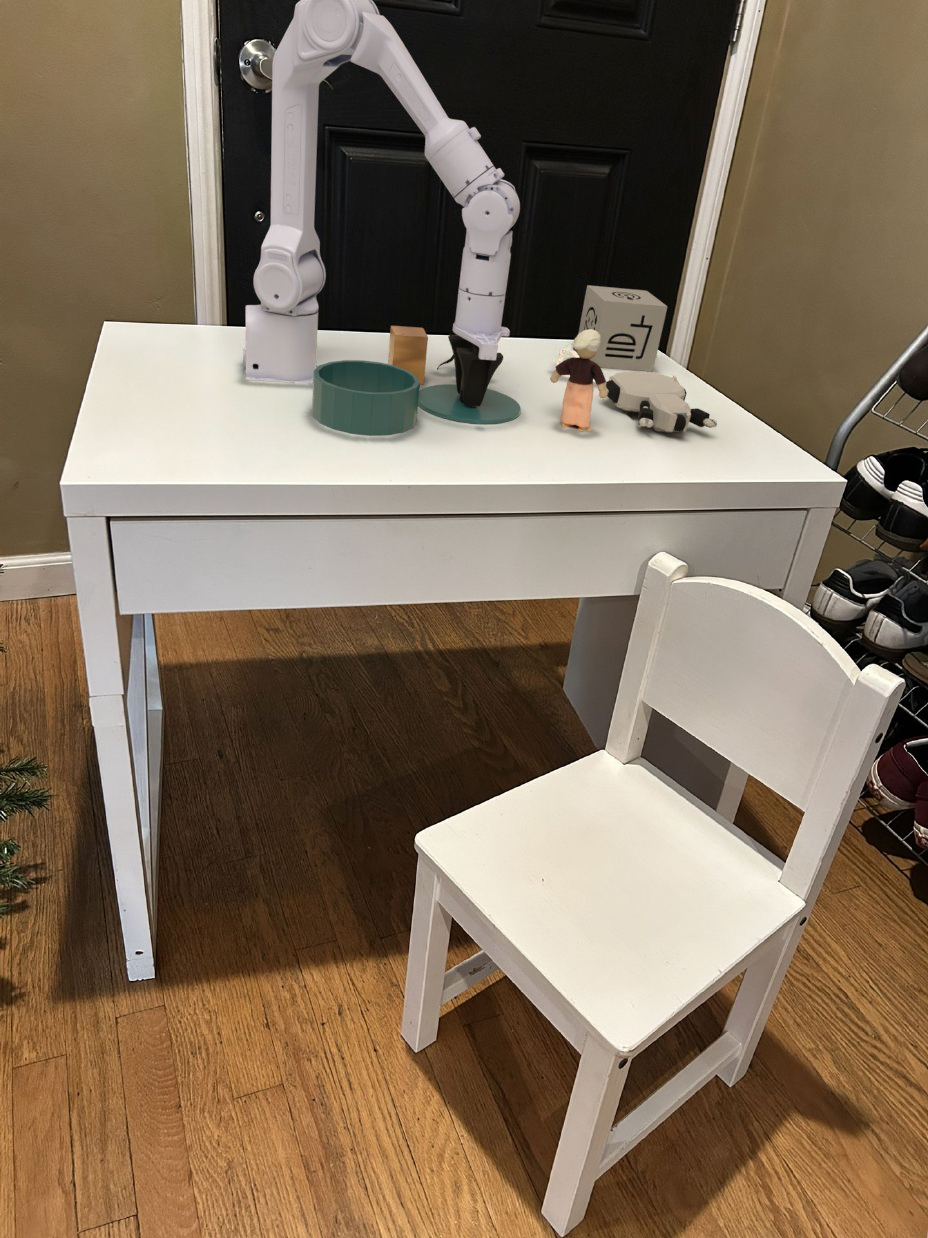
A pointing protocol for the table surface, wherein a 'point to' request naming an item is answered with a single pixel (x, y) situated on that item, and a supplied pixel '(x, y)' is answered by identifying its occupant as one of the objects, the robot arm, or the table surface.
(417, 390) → the pot
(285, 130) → the robot arm
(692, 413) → the robot toy
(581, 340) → the grandmother figurine
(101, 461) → the table surface
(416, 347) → the maple block
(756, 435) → the table surface
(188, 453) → the table surface
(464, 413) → the pot lid
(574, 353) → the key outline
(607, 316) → the icon cube
